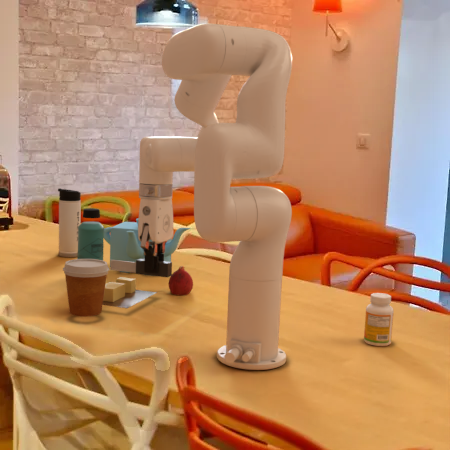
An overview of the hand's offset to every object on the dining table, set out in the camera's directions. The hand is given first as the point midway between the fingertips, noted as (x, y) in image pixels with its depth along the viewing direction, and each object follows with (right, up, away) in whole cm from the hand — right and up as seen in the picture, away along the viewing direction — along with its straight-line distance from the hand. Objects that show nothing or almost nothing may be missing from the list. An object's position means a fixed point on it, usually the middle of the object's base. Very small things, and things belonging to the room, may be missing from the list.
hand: (154, 270), depth 170 cm
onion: (+6, -7, +6) cm, 11 cm away
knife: (-4, 0, +1) cm, 4 cm away
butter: (-10, -6, -2) cm, 11 cm away
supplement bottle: (+47, -13, -21) cm, 53 cm away
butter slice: (-7, -5, +5) cm, 10 cm away
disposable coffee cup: (-13, -9, -14) cm, 21 cm away
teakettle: (-6, -2, +34) cm, 34 cm away
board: (-8, -7, 0) cm, 11 cm away
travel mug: (-30, +1, +51) cm, 59 cm away
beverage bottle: (-17, -5, +11) cm, 21 cm away
